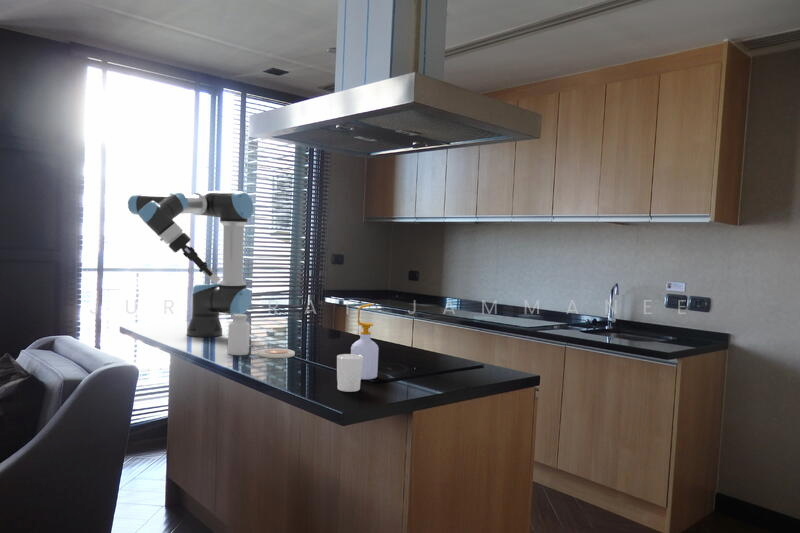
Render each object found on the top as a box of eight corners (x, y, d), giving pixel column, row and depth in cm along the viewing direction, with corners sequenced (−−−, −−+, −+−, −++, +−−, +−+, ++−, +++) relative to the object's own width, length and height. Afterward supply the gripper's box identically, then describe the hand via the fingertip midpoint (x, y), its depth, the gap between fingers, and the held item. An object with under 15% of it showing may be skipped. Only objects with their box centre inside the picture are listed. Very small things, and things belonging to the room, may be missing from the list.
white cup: (356, 393, 171) (358, 359, 171) (331, 390, 173) (333, 357, 173) (365, 387, 179) (366, 355, 179) (341, 385, 181) (342, 353, 181)
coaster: (256, 351, 229) (256, 348, 229) (291, 351, 233) (292, 347, 233) (259, 358, 215) (259, 354, 215) (297, 358, 220) (297, 354, 220)
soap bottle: (377, 380, 190) (381, 305, 189) (349, 379, 189) (353, 304, 189) (376, 374, 199) (380, 302, 198) (350, 373, 198) (353, 301, 198)
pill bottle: (245, 356, 219) (247, 316, 218) (224, 355, 219) (226, 315, 218) (251, 352, 227) (253, 314, 226) (230, 351, 227) (232, 313, 226)
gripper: (167, 245, 224) (207, 285, 230) (167, 245, 201) (210, 290, 207) (183, 232, 226) (221, 272, 232) (184, 231, 203) (226, 275, 208)
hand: (216, 280), depth 219 cm, fingers open, 13 cm apart
